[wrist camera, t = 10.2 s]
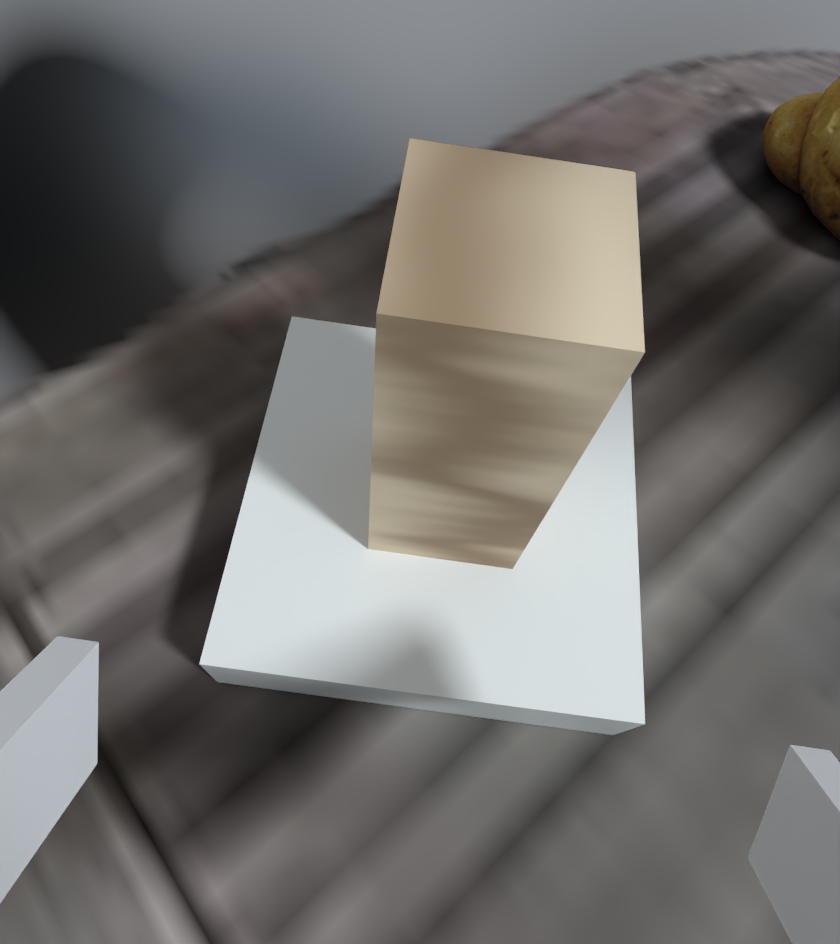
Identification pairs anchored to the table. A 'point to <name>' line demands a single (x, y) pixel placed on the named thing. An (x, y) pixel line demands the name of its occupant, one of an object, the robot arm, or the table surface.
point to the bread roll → (808, 151)
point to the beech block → (496, 344)
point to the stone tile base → (423, 572)
